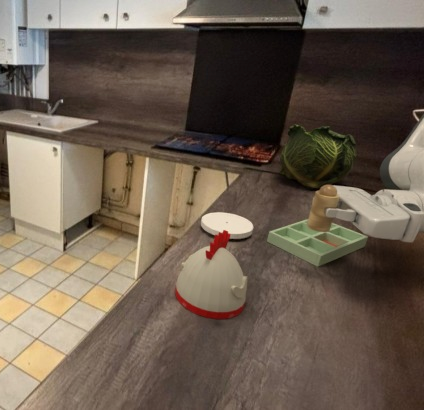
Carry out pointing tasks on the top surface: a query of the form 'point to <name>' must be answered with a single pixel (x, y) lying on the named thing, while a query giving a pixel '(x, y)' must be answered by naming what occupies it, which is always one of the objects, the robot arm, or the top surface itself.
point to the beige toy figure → (322, 208)
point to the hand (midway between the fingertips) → (319, 206)
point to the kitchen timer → (212, 281)
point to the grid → (316, 242)
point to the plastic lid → (227, 225)
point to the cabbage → (317, 156)
